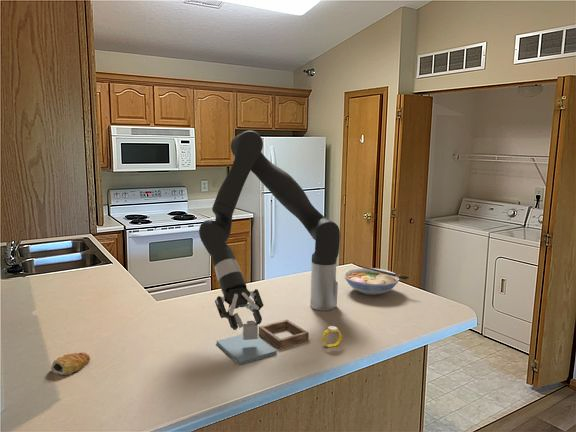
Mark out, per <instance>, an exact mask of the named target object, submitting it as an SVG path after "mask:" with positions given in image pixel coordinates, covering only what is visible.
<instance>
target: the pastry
mask: <svg viewBox="0 0 576 432" xmlns="http://www.w3.org/2000/svg"><path fill="white" fill-rule="evenodd" d="M90 360H91V358H90V355H89V354H88V353H86V352H75V353H69V354H68V353H67V354H64V355H63V356H60V357H57V358H56V359H55V360H53V361H52V364H51V366H50V369H51V371H52V372H53V373H55V374H58V375H62V376H69V375H71V374H72V375H73V374H74V372H78V371H81V369H83V368H84V367H86V366H87V365H88V364H89V363H90Z"/></svg>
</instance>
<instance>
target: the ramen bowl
mask: <svg viewBox="0 0 576 432" xmlns="http://www.w3.org/2000/svg"><path fill="white" fill-rule="evenodd" d="M343 276H344V279H345V280H346V282H347V283H348V285H349V286H350V287H351V288H352V289H353V290H355V291H357V292H360V293H361V294H364V295H367V296H378V295H380V294H381V295H382V294H385V293H388V292H389V291H391V290H393V288H395V286H396V285H397V284H398V282H399V281H400V279H402V280H407V279H409V276H406V275H402V274H397V273H395V272H392V271H391V270H387V269H381V268H374V267H368V266H367V267H366V266H362V265H356V268H355V267H354V268H350V269H348V270H345V271H344V273H343Z"/></svg>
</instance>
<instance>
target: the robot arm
mask: <svg viewBox="0 0 576 432" xmlns="http://www.w3.org/2000/svg"><path fill="white" fill-rule="evenodd" d="M263 148H264V141H263V138H262V136H261V135H260V134H259V133H258V132H256V131H254V130H245V131H243V132H241V133H239V134H238V135H236V136H234V137H233V139H232V140H231V142H230V150H231V153H232V155H233V156H234V160H233V163H232V165H231V167H230V170H229V171H228V174H227V175H226V177H225V179H224V180H223V182H222V184H221V186H220V187H219V189H218V191H217V195H216V197H215V200H214V203H213V205H212V208H211V210H212V213H213V214H214V215H215V220H212V219H207V220H204V221H203V222H202V223H200V226H199V230H198V234H199V239H200V241H201V242H202V245H203V246H204V248H205V249H206V251H207V253H208V254H209V256H210V258H211V261H212V265H213V267H214V271H215V275H216V279H217V281H218V284H219V287H220V290H221V292H222V293H221V294H222V295H223V296H220V295H218V296H217V297H216V299H215V300H214V303H215V306H216V309H217V311H218V314H219V316H220V318H221V319H223V318H224V319H225V318H226V319H227V320H228V323H229V326H230V328H231V329H232V330H233V331H237V329H238V328H239V326H238V324H237V322H236V319H235V316H234V311H235V310H236V309H238V308H246V309H247V310H250V312H252V316H253V318H254V322H255V323H257V325H258V326H259V325H260V324H261V323H262V320H263V318H262V314H261V312H260V311H261V309H262V308H263V307H264V303H263V300H262V297H261V295H260V292H259V290H258V289H256V288H255V289H254V290H252V291H251V290H249V289H248V288H247V284H246V281H245V278H244V276H243V273H242V270H241V267H240V266H239V264H238V262H237V259H236V257H235V254H234V251H233V249H232V247H231V246H230V245H229V244H228V243H227V241H228V240H229V237H230V235H231V229H232V222H233V215H234V212H235V210H236V206H237V204H238V200H239V198H240V195H241V193H242V190H243V188H244V185H245V183H246V180H248V179H247V178H248V177H249V175H250V173H251V172H252V173H253V174H254V175H255V176H256V177H257V179H259V181H260V182H261V183H262V184H263V186H265V188H266V189H267V190H268V191H269V192H270V193H271V194H272V196H273V197H275V199H276V200H277V201H278V202H279V203H280V204H281V205H282V206H283V207H284V209H286V210H287V211H289V212H290V213H291V214H292V215H293V216H294V217H296V218H297V220H299V222H300V224H302V226H304V228H305V230H306V231H307V232H308V233H309V234H310V236H311V238H312V239H313V240H314V241H315V242H314V252H313V253H312V254H311V271H310V273H311V274H310V277H311V278H310V303H309V304H310V305H309V306H310V308H311V309H314V310H317V311H323V312H324V311H332V310H334V309H335V308H336V307H338V286H339V285H338V284H339V282H338V281H336V280H337V261H338V257H339V253H340V245H341V244H340V241H341V232H340V231H341V230H340V228H339V226H338V224H336V222H334V221H333V220H330V219H328V218H327V217H326V216H324V215H323V213H321V212H320V211H318V210H317V209H316V208H315V207H314V205H313V204H312V203H311V200H309V197H308V195H307V194H306V192H305V191H304V189H303V188H302V186H301V185H300V184H299V183H298V182H297V181H296V180H295V179H294V178H293V177H292V176H291V175H290V174H289V173H288V172H286V171H285V170H284V169H282V168H280V167H279V166H277V165H276V164H274V163H273V162H271V161H270V160H269V159H268V158H267V157H266V156H265V155H264V153H262V150H263ZM250 297H251V298H250ZM224 303H226V304H227V305H228V308H227V309H226V307H225V306H226V305H225V304H224Z"/></svg>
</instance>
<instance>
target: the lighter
mask: <svg viewBox="0 0 576 432" xmlns="http://www.w3.org/2000/svg"><path fill="white" fill-rule="evenodd" d="M233 315H234V316H235V319H236V322H237V325H238V328H239V329H241V328H242V334H243V339H244V340H251V339H257V338H258V337H259V336H258V335H259V324H258V325H257V323H256V321H255V320H247V321H246V323H243V320H241V317H240V315H239V313H238V312H236V313H233Z"/></svg>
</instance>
